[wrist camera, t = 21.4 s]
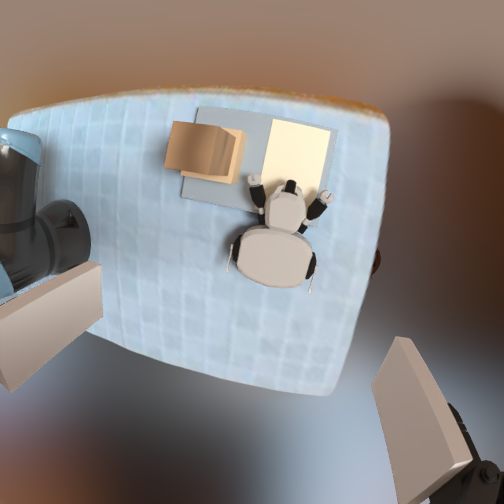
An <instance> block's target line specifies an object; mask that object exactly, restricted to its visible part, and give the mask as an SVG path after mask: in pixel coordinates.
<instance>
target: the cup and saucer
mask: <svg viewBox="0 0 504 504" xmlns="http://www.w3.org/2000/svg"><path fill="white" fill-rule="evenodd" d="M380 262H381V256H380V252H379V250H378V248H377V247H376V250H375V254H374V260H373V264H372V267H371V271H370V278H371V279H372V274H374V273H375V272H376V271H377V269H378V267H379V265H380Z"/></svg>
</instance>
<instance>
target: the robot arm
mask: <svg viewBox="0 0 504 504" xmlns="http://www.w3.org/2000/svg"><path fill="white" fill-rule="evenodd" d="M41 150H42V142H41V139H40V138H39V137H38V136H37V135H35V134H31V133H28V132H24V131H19V130H14V129H8V128H0V299H2V298H4V297H7V296H9V295H13V294H14V293H15V292H17V291H19V290H21V289H23V288H25V287H27V286H29V285H30V284H32V283H34V282H36V281H38V280H40V279H42V278H44V277H46V276H49V275H58V276H56V277H54V278H52V279H50V280H48V281H46V282H44V283H42V284H40V285H38V286H36V287H34V288H33V289H31V290H29V291H27V292H25V293H23V294H21V295H19V296H17V297H15V298H13V299H11V300H9V301H7V302H6V303H4V304H2V305H0V383H1V384H2V385H3V386H5V388H7V389H8V390H9V391H10V392H11V393H12V392H13V391H14V390H15V389H16V388H17V387H19V386H20V385H21V384H22V383H23V382H24V381H25V380H27V379H28V378H29V377H30V376H31V375H32V374H33V373H35V372H36V371H37V370H38V369H39V368H40V367H42V366H43V365H44V364H45V363H46V362H48V361H49V360H50V359H51V358H52V357H53V356H55V355H56V354H57V353H58V352H59V351H61V350H62V349H63V348H64V347H66V346H67V345H68V344H69V343H70V342H72V341H73V340H74V339H75V338H77V337H78V336H79V335H80V334H81V333H83V332H84V331H85V330H86V329H88V328H89V327H90V326H91V325H93V324H94V323H95V322H97V321H98V320H99V319H100V318H102V317H103V308H102V287H101V264H98V263H95V262H92V261H88V258H89V255H90V249H91V238H90V231H89V227H88V224H87V221H86V219H85V217H84V215H83V213H82V211H81V210H80V209H79V207H78V206H77V205H76V204H74V203H73V202H71V201H69V200H58V201H54V202H51V203H50V204H48V205H47V206H45V207H44V208H43V209H41V210H40V211H38V212H37V213H36V197H37V186H38V177H39V169H40V167H41V162H40V158H41ZM371 387H372V391H373V395H374V398H375V402H376V405H377V409H378V413H379V417H380V421H381V425H382V429H383V433H384V437H385V441H386V445H387V450H388V454H389V459H390V463H391V468H392V473H393V478H394V483H395V489H396V495H397V500H398V504H420V503H421V502H423V501H424V500H425V499H427V498H428V497H429V499H430V503H429V504H504V472H500V470H499V468H498V467H497V465H496V464H494V463H493V462H491V461H487V460H485V461H481V459H480V457H479V455H478V453H477V451H476V448H475V446H474V444H473V442H472V440H471V437H470V435H469V433H468V432H466V431H467V429H466V427H465V425H464V424H463V421H462V419H461V417H460V415H459V413H458V412H457V410H456V409H455V408H454V407H453V406H452V405H451V404H450V403H447V402H446V400H445V398H444V397H443V395H442V393H441V391H440V389H439V387H438V385H437V384H436V382H435V380H434V378H433V376H432V375H431V373H430V371H429V369H428V368H427V366H426V364H425V362H424V361H423V359H422V357H421V355H420V354H419V352H418V350H417V349H416V347H415V345H414V344H413V342H412V341H411V339H409V338H403V337H397V336H396V337H395V339H394V341H393V344H392V346H391V348H390V350H389V352H388V354H387V356H386V358H385V360H384V362H383V363H382V365H381V367H380V369H379V371H378V373H377V375H376V377H375V378H374V380H373V382H372V384H371Z"/></svg>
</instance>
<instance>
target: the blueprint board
mask: <svg viewBox="0 0 504 504" xmlns="http://www.w3.org/2000/svg"><path fill="white" fill-rule="evenodd" d="M195 123H198V124H207V125H214V126H219V127H221V128H222V129H224V130H226V131H227V132H229V133H230V134H232V135H233V136H234V137H236V140H235V145H234V149H233V154H232V159H231V163H230V168H229V173H228V176H218V175H205V174H199V173H194V172H188V171H182V170H181V175H183V176H185V178H184V184H183V190H182V196H181V197H182V198H187V199H192V200H197V201H202V202H207V203H212V204H217V205H221V206H226V207H231V208H236V209H240V210H245V211H249V212H254V213H258V214H260V213H259V208H258V207H257V206H256V205H255V204H254V203H253V201H252V198H251V194H250V190H249V188H250V187H251V186H250V184H249V183H248V182H247V177H248V176H249V175H250V174H252V178H253V180H256V179H255V176H254V174H255V173H258V174H259V175H260V177H261V183H260V185H262V184H263V187H264V191H265V195H266V201H267V200H268V198H269V196H270V195H271V194H272V193H273V192H274V191H276V189H277V188H278V186H279V184H282V183H286V182H287V180H294V181H296V188H295V193H297V186H298V187H300V188H301V189H302V195H303V199H304V200H305V206H306V212H305V215H304V218H303V220H304V219H305V218H306V214H307V210H308V207H309V206H310V205H311V203H312V202H313V201H314V200H315V199H316V198H318V199H319V196H320V193H321V192H322V191H323V190H326V186H327V182H328V177H329V173H330V168H331V163H332V159H333V154H334V149H335V144H336V139H337V134H338V130H336V129H332V128H328V127H324V126H320V125H316V124H312V123H308V122H303V121H298V120H294V119H289V118H284V117H279V116H273V115H267V114H261V113H255V112H249V111H242V110H234V109H226V108H217V107H207V106H199V109H198V113H197V117H196V122H195ZM285 186H286V184H285V185H284V187H283V188H282V190H285ZM266 201H265V205H264V209H266ZM303 220H302V221H303ZM318 220H319V217H318V218H316V219H314V220H311V221H310V222H309V223H308V224H307V225H309V226H313V227H317V224H318Z"/></svg>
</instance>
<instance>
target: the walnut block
mask: <svg viewBox="0 0 504 504" xmlns="http://www.w3.org/2000/svg"><path fill="white" fill-rule="evenodd" d="M235 140H236V137H234V136H233V135H232V134H230V133H229V132H227V131H226V130H224V129H222V128H221V127H219V126H214V125H207V124H198V123H189V122H179V121H173V124H172V129H171V133H170V138H169V143H168V148H167V153H166V158H165V163H164V168H170V169H176V170H182V171H188V172H194V173H199V174H205V175H218V176H228V173H229V168H230V163H231V159H232V154H233V149H234V145H235Z"/></svg>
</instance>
